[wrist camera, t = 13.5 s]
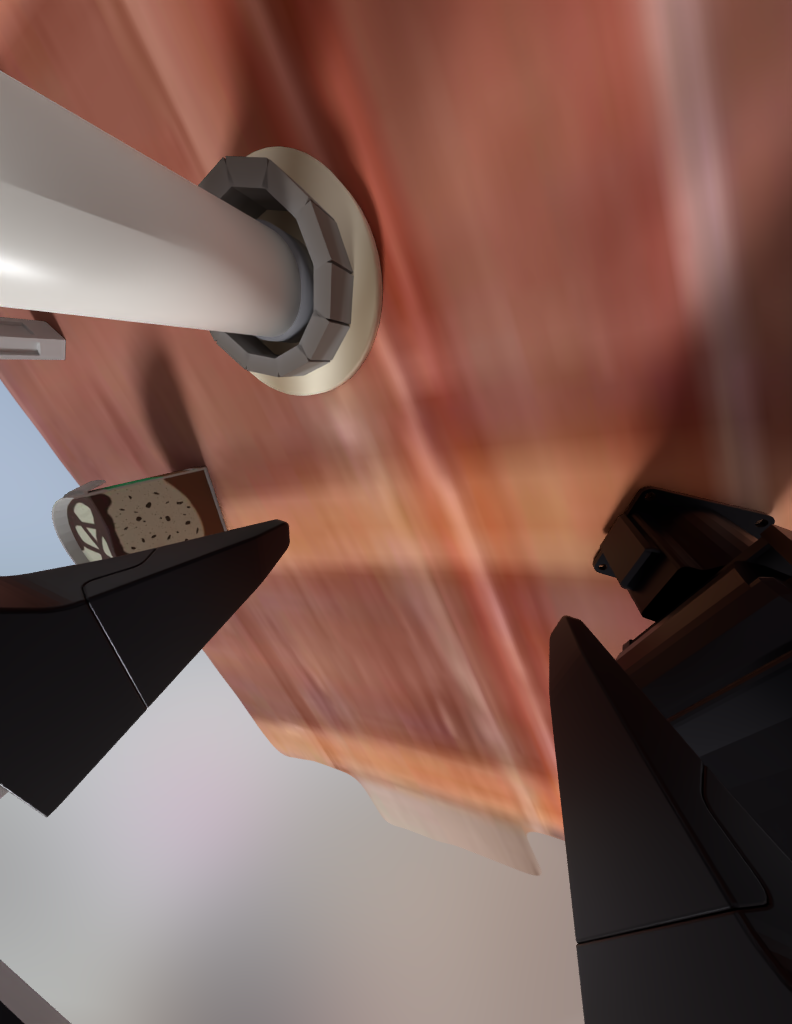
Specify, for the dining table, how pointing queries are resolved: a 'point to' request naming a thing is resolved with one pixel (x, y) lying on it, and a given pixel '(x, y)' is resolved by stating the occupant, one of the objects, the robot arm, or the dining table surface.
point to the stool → (30, 340)
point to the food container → (137, 515)
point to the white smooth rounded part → (133, 234)
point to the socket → (337, 268)
